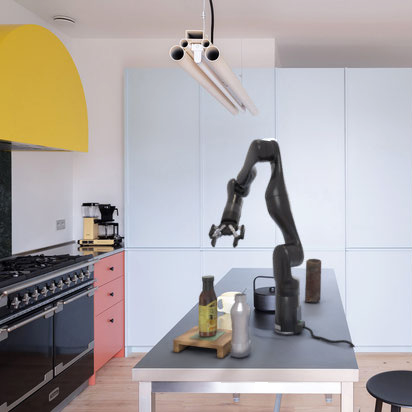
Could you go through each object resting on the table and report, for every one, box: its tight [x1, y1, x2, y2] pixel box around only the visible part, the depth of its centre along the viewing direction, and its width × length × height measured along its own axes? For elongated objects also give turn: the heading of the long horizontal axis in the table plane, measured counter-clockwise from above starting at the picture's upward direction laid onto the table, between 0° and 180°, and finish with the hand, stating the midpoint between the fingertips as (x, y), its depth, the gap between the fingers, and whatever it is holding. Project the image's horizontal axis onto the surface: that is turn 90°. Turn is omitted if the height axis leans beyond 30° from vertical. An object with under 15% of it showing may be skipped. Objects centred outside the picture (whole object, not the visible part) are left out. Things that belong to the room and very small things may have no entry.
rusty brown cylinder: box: [304, 258, 322, 303], centre depth 196 cm, size 8×7×20 cm
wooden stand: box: [172, 325, 232, 359], centre depth 141 cm, size 18×14×4 cm
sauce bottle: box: [197, 275, 218, 337], centre depth 141 cm, size 6×6×20 cm
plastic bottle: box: [229, 292, 252, 358], centre depth 133 cm, size 6×7×20 cm
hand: (223, 246), depth 165 cm, fingers open, 8 cm apart
